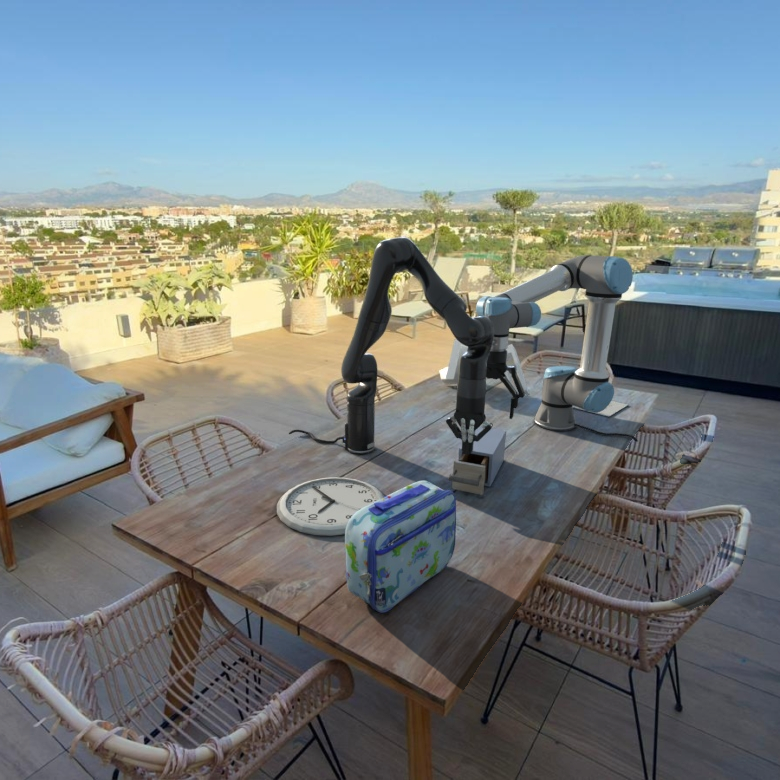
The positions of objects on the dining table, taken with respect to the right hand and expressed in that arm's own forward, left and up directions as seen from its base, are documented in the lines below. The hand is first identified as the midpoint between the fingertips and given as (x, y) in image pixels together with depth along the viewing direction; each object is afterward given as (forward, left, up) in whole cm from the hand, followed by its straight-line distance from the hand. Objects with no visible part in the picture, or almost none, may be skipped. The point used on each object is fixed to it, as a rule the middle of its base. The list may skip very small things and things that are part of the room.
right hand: (489, 414), depth 166 cm
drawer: (+5, +17, -16) cm, 23 cm away
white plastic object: (-1, -76, -17) cm, 78 cm away
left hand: (+8, +26, -2) cm, 27 cm away
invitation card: (-53, -64, -17) cm, 85 cm away
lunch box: (+21, +65, -17) cm, 70 cm away
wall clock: (+43, +35, -17) cm, 58 cm away
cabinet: (+2, +6, -17) cm, 18 cm away
